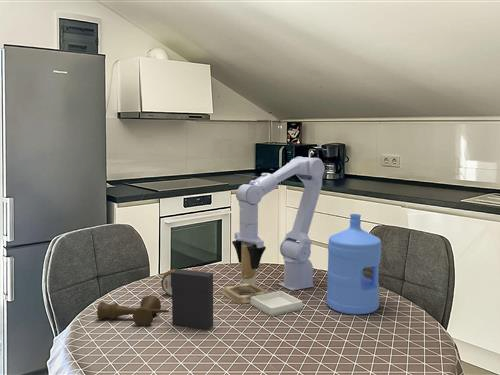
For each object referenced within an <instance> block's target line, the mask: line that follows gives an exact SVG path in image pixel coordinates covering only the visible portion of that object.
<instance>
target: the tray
mask: <svg viewBox="0 0 500 375" xmlns="http://www.w3.org/2000/svg"><path fill="white" fill-rule="evenodd" d="M250 306H252V307H254V308H255V309H257V310H258V311H260V312H262V313H263V314H266V315H267V316H269V317H271V318H272V317H277V316H279V315H284V314H290V313H293V312H297V311H301V310H303V306H304V305H303V300H301V299H299V298H297V297H295V296H292V295H291V294H288V293H286V292H284V291H282V290H277V291H272V292H269V293H267V294H262V295H257V296H252V297H251V302H250Z"/></svg>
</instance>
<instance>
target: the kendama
mask: <svg viewBox="0 0 500 375" xmlns="http://www.w3.org/2000/svg"><path fill="white" fill-rule="evenodd" d="M139 305H140V307H137V308H135V307H128V306H124V305H123V306H122V305H120V304H119V303H117V302H115V303H113V304H108V303H106V302H104V301H101V302H99V304H98V305H97V309H96V315H97V319H98V320H99V321H102V320H104V319H107V318H112V319H113V320H116V319H117V318H118V317H123V316H129V315H132V319H133V322H134V324H135V325H137V326H138V327H148V326H150V325H152V322H153V320H154V318H153V316H156V315H157V314H162V313H163V314H164V313H165V314H166V313H169V312H170V310H169V309H161V308H162V304H161V300H160V299H159V297H157V296H155V295H152V294H150V295H148V294H147V295H145V296H144V297H142V299H141V301H140V304H139Z"/></svg>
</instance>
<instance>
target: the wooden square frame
mask: <svg viewBox="0 0 500 375" xmlns="http://www.w3.org/2000/svg"><path fill="white" fill-rule="evenodd" d="M249 291H250V292H251V293H248V294H245V295H244V294H243V295H240V294H239V293H245V292H249ZM267 293H270V291H268V290H266V289H264V288H262V287H260V286H258V285H257V284H255V283H246V284H243V283H242V284H237V285H231V286H226V287H222V288H221V295H222V296H225V297H226V298H228V299H230V300H231V301H233V302H235V303H236V304H238V305H243V304H247V303H248V304H249V303H251V297H252V296H257V295H262V294H267Z"/></svg>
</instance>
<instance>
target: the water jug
mask: <svg viewBox="0 0 500 375" xmlns="http://www.w3.org/2000/svg"><path fill="white" fill-rule="evenodd" d="M349 216H350V218H349V219H350V220H349V227H348V229H347V228H346V229H344V230H341V231H340V232H337V233H334V234H332V235H330V236H329V237H328V243H327V251H328V253H327V255H328V256H327V258H328V259H327V274H326V276H327V285H326V286H327V289H326V290H327V292H326V304H327V306H328V307H329V308H330V309H332V310H334V311H336V312H338V313H341V314H348V315H368V314H372V313H374V312H376V311H377V310H378V309H379V308H380V283H379V272H380V271H379V270H380V267H379V266H380V264H381V255H382V240H381V239H380V238H379V237H378V236H376V235H373V234H372V233H370V232H368V231H366V230H364V229H362V227H361V222H362V221H361V216H362V215H361V214H359V213H350V214H349ZM365 268H372V274H371V276H372V277H371V278H370V277H369V278H368V277H366V276H365V275H364V269H365Z"/></svg>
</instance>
